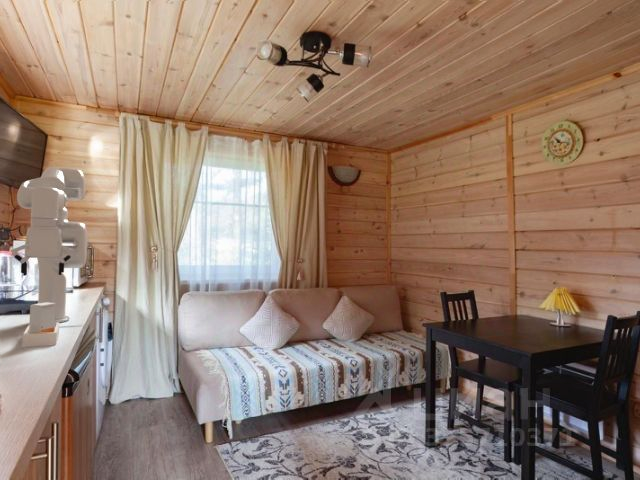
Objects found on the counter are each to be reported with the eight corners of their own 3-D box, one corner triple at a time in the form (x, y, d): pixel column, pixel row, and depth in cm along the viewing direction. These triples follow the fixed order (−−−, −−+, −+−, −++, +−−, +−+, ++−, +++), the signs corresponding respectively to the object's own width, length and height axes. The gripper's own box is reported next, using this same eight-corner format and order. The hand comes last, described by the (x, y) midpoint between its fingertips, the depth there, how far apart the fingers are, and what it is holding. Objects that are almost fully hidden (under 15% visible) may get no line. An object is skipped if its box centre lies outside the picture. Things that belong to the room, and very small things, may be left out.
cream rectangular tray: (28, 335, 140) (28, 323, 140) (58, 333, 144) (59, 321, 145) (22, 347, 125) (22, 334, 125) (56, 344, 130) (56, 331, 130)
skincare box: (39, 342, 128) (40, 305, 128) (28, 341, 129) (29, 304, 129) (55, 337, 134) (56, 302, 134) (44, 337, 135) (45, 302, 135)
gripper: (75, 225, 139) (73, 273, 139) (13, 222, 130) (12, 274, 130) (74, 225, 133) (73, 275, 133) (10, 222, 124) (8, 276, 124)
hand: (42, 275), depth 132 cm, fingers open, 9 cm apart
